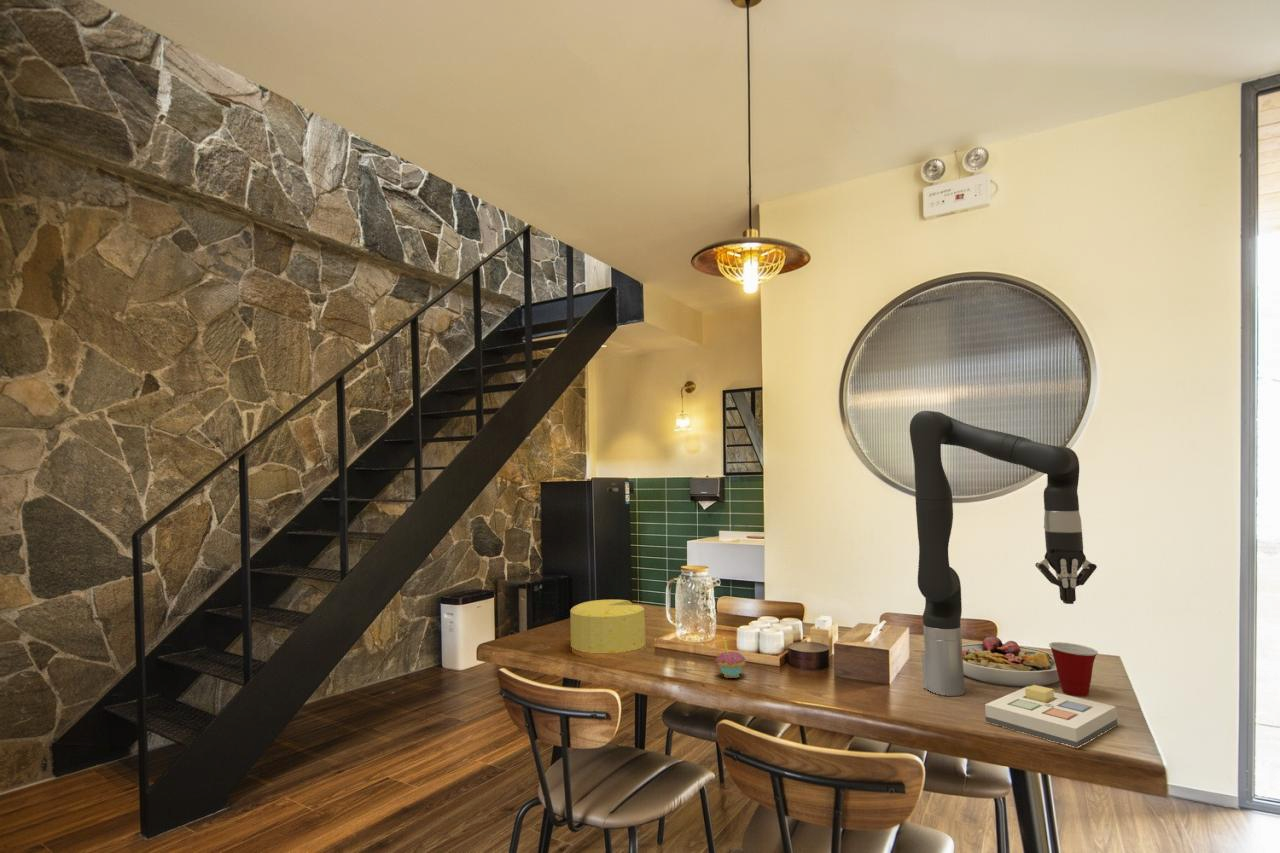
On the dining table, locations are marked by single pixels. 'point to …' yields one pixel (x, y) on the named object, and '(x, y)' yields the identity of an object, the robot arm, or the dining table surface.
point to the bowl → (1008, 664)
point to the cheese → (607, 626)
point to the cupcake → (730, 661)
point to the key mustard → (1039, 693)
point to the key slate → (1075, 706)
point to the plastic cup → (1074, 667)
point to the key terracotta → (1061, 714)
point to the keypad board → (1052, 718)
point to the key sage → (1025, 705)
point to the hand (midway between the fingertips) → (1068, 603)
